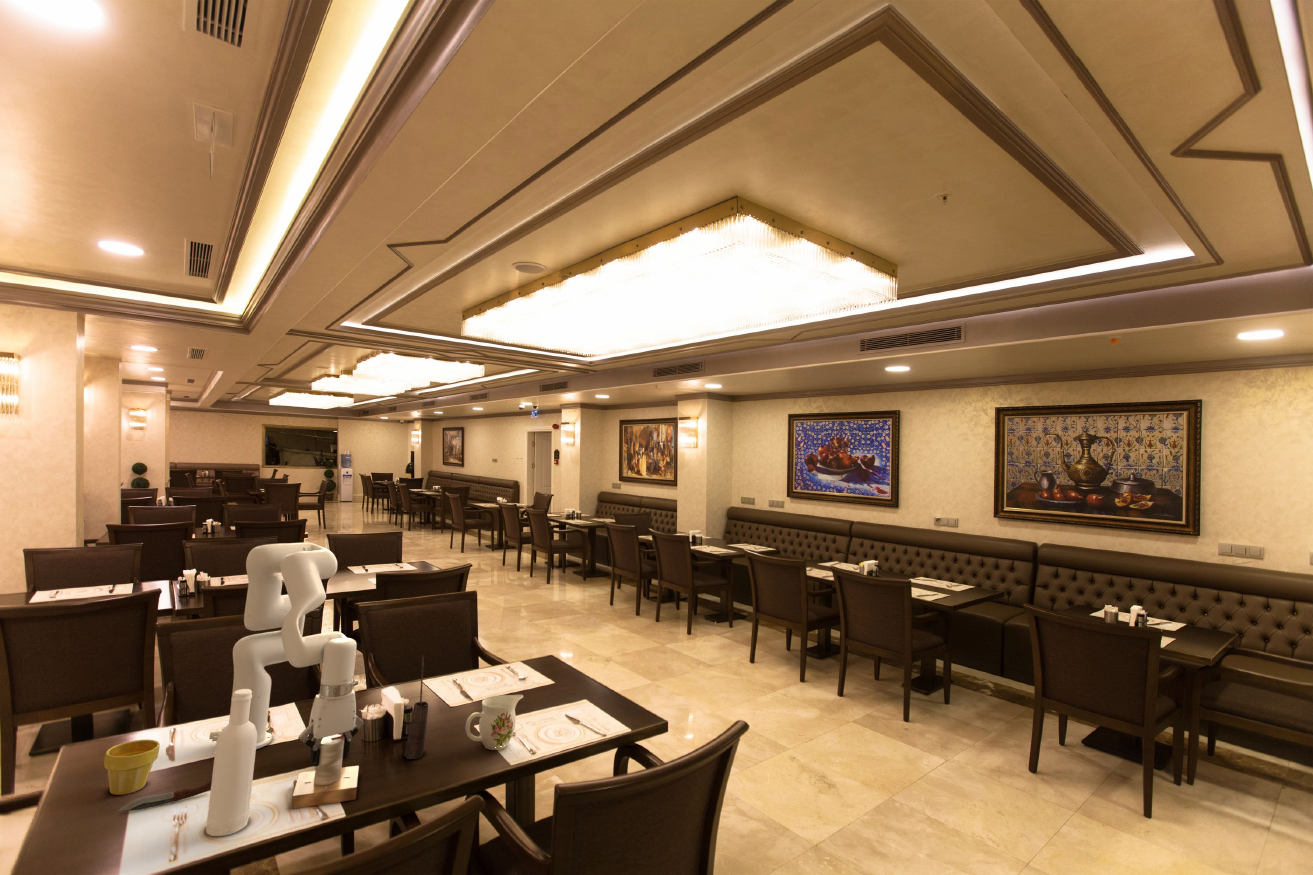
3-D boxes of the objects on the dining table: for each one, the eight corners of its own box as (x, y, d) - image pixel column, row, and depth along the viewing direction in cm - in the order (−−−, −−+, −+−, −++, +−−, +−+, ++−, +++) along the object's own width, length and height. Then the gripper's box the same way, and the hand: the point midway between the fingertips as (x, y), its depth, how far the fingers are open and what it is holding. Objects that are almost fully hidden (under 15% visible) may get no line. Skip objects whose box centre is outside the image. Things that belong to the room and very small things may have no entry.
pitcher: (457, 745, 182) (461, 699, 184) (513, 733, 193) (516, 689, 194) (470, 759, 174) (474, 711, 175) (527, 746, 184) (530, 700, 185)
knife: (116, 817, 136) (118, 803, 136) (116, 814, 137) (118, 800, 138) (215, 793, 148) (217, 781, 148) (215, 790, 149) (216, 778, 150)
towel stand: (291, 808, 144) (292, 795, 144) (298, 784, 155) (299, 771, 155) (355, 799, 149) (356, 786, 150) (357, 776, 160) (359, 764, 161)
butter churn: (436, 760, 172) (445, 661, 174) (401, 766, 167) (410, 664, 170) (430, 747, 180) (438, 652, 182) (396, 752, 175) (405, 655, 177)
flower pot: (162, 775, 155) (167, 736, 156) (144, 795, 145) (149, 754, 146) (112, 780, 151) (117, 740, 152) (90, 801, 142) (96, 758, 143)
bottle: (220, 816, 139) (235, 684, 141) (255, 816, 140) (270, 685, 142) (197, 836, 131) (213, 696, 133) (234, 837, 132) (250, 697, 134)
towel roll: (319, 787, 148) (323, 745, 149) (310, 778, 152) (314, 737, 153) (344, 779, 152) (348, 738, 153) (335, 771, 156) (339, 731, 157)
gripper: (364, 677, 163) (358, 745, 162) (294, 691, 150) (286, 765, 149) (376, 685, 158) (369, 755, 157) (304, 700, 145) (296, 776, 144)
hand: (329, 759), depth 153 cm, fingers closed on towel roll, 6 cm apart
